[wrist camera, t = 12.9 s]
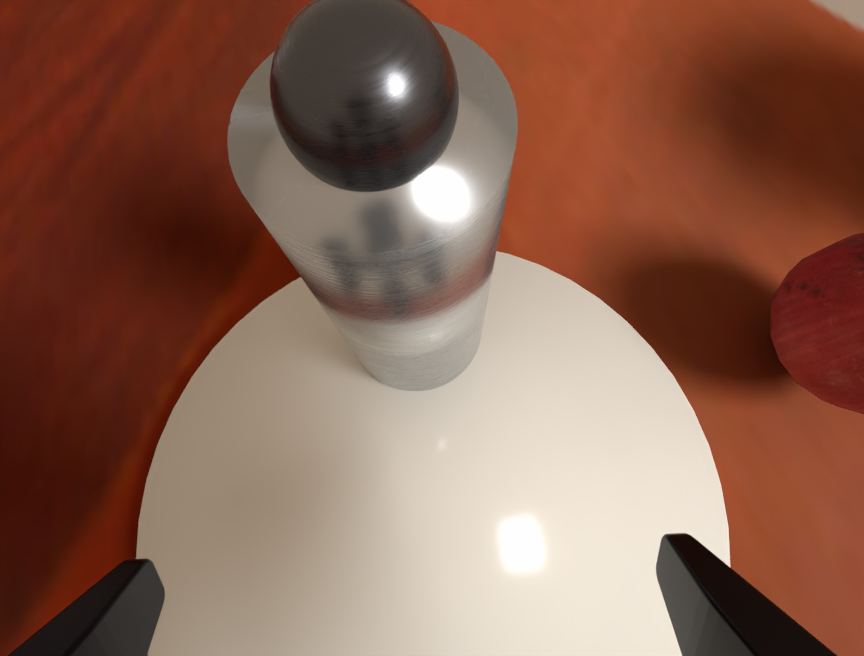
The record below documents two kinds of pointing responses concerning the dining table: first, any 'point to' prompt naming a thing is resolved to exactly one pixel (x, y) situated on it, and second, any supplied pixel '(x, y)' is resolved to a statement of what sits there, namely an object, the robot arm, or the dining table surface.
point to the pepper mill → (382, 178)
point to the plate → (428, 489)
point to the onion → (824, 323)
